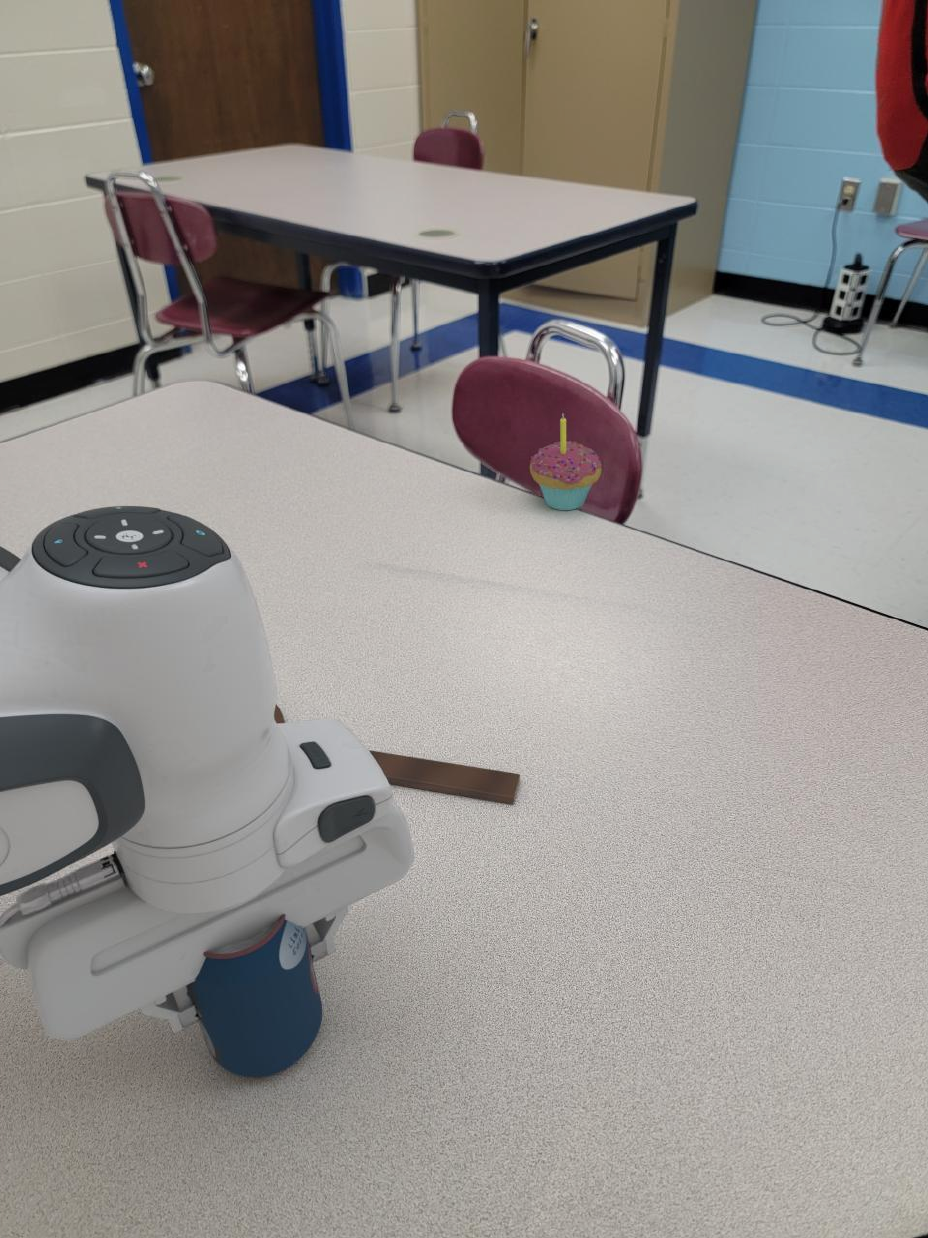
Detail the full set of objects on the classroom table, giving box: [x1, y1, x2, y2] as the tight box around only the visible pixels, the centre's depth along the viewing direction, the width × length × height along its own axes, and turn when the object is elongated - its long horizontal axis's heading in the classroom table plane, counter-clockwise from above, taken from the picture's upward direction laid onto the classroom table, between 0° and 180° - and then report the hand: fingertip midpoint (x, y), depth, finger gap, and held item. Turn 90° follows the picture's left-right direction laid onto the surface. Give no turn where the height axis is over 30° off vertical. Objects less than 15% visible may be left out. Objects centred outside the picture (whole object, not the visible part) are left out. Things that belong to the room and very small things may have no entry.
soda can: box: [186, 914, 323, 1078], centre depth 51 cm, size 7×7×12 cm
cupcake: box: [529, 412, 603, 511], centre depth 105 cm, size 9×8×12 cm
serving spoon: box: [274, 704, 521, 805], centre depth 74 cm, size 33×13×1 cm, turn 76°
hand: (254, 982), depth 52 cm, fingers closed on soda can, 7 cm apart
